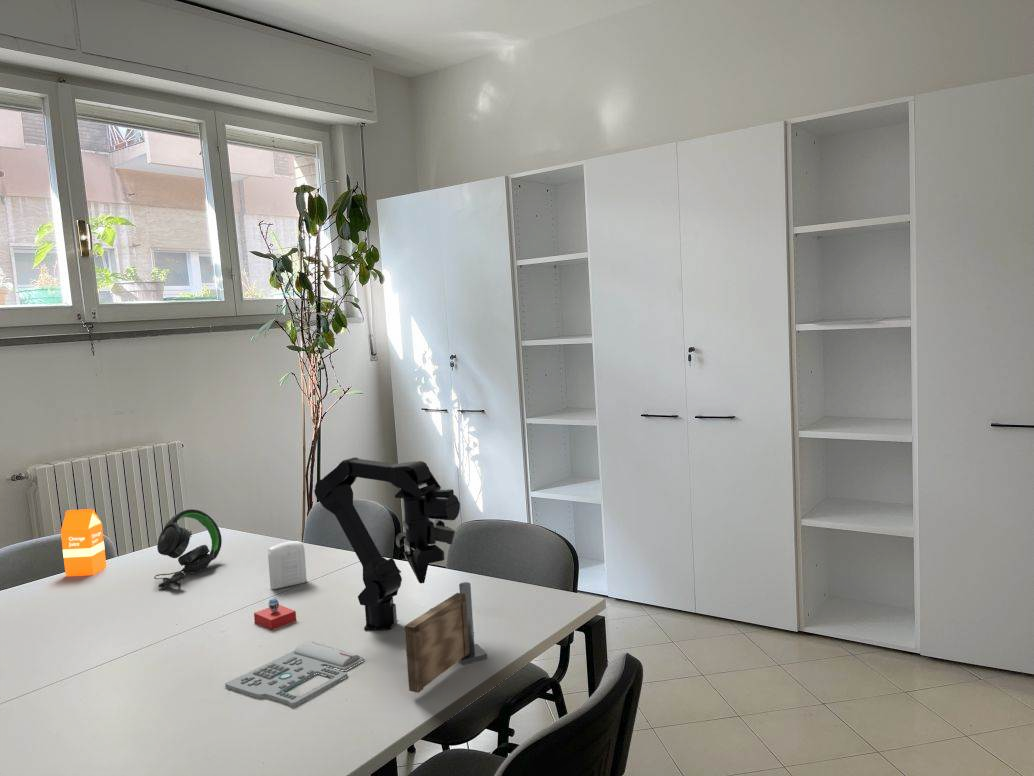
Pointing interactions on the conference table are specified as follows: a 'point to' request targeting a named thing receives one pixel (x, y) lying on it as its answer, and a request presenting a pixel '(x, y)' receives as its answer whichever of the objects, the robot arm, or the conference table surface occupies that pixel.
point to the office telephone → (295, 673)
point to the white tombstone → (287, 564)
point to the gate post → (471, 629)
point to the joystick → (274, 615)
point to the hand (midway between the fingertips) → (421, 582)
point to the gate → (436, 641)
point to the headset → (177, 541)
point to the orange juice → (82, 543)
